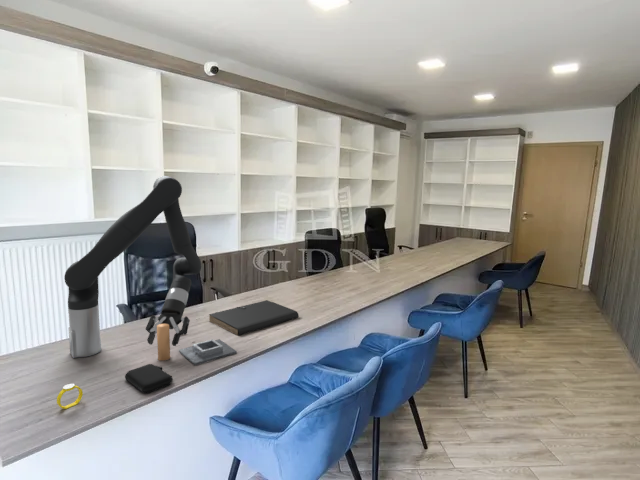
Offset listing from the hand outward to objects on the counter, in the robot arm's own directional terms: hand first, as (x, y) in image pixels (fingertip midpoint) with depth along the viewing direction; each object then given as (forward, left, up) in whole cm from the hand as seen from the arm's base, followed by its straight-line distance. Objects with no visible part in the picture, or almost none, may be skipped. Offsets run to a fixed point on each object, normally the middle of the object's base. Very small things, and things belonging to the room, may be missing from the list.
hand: (161, 344), depth 133 cm
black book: (+47, +16, -6) cm, 50 cm away
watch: (-29, -13, -6) cm, 32 cm away
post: (+1, +1, -6) cm, 6 cm away
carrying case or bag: (-8, -12, -6) cm, 16 cm away
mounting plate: (+15, -4, -6) cm, 16 cm away
